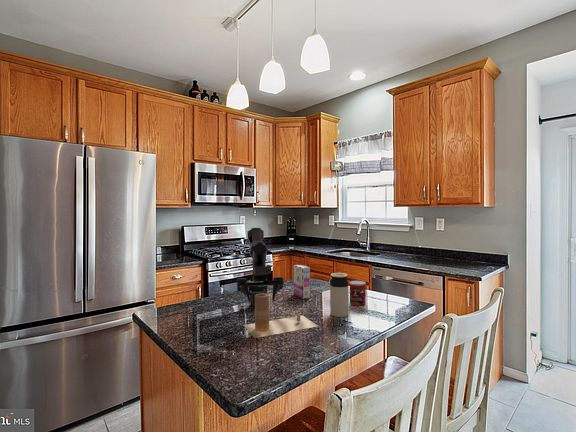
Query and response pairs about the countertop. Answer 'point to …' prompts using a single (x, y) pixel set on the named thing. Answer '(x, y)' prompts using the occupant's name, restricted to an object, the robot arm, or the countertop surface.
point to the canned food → (358, 293)
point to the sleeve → (261, 312)
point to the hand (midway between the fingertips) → (261, 302)
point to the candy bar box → (302, 281)
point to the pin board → (282, 326)
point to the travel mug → (339, 295)
